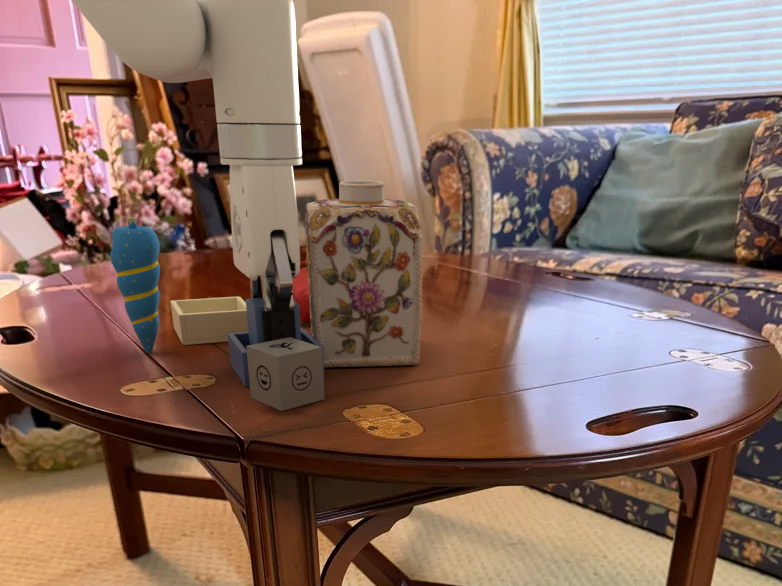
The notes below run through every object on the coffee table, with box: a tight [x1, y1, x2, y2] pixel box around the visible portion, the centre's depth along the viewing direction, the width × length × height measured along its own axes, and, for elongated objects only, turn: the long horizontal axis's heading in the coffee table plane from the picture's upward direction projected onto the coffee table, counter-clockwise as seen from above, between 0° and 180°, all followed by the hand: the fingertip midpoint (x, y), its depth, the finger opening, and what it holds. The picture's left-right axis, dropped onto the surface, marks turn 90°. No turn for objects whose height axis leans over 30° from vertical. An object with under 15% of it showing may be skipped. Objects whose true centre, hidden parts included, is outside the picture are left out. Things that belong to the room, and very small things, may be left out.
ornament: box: [109, 210, 161, 354], centre depth 83 cm, size 5×5×15 cm
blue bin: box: [227, 327, 325, 388], centre depth 80 cm, size 8×8×4 cm
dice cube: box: [246, 337, 325, 412], centre depth 72 cm, size 5×5×5 cm
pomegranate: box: [292, 260, 311, 325], centre depth 99 cm, size 10×10×9 cm
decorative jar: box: [304, 179, 424, 369], centre depth 83 cm, size 12×12×18 cm
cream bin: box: [170, 296, 248, 346], centre depth 94 cm, size 9×9×4 cm
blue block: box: [245, 298, 301, 345], centre depth 78 cm, size 4×4×4 cm
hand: (274, 342), depth 79 cm, fingers closed on blue block, 4 cm apart
